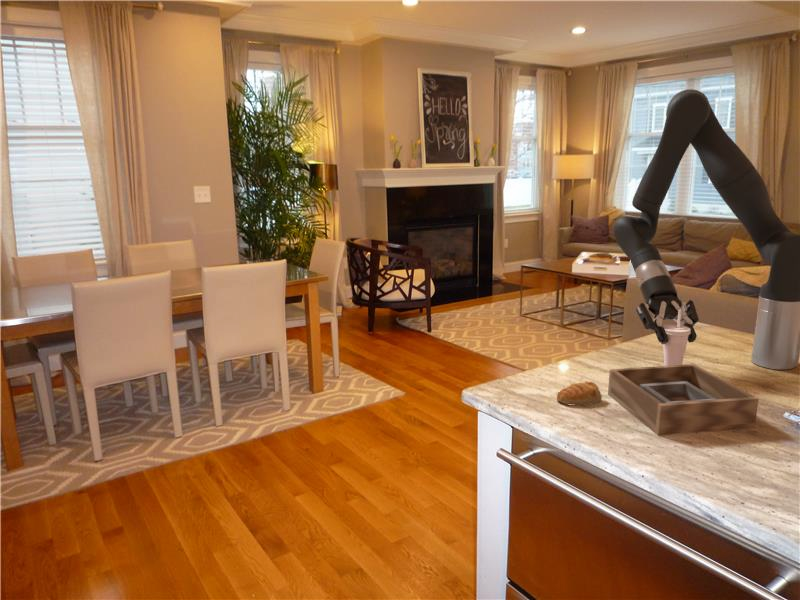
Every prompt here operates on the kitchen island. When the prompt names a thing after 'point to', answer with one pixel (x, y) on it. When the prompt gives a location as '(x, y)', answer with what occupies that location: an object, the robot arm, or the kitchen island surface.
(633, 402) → the crate
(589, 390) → the pastry
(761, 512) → the kitchen island surface
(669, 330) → the smoothie
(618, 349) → the kitchen island surface
